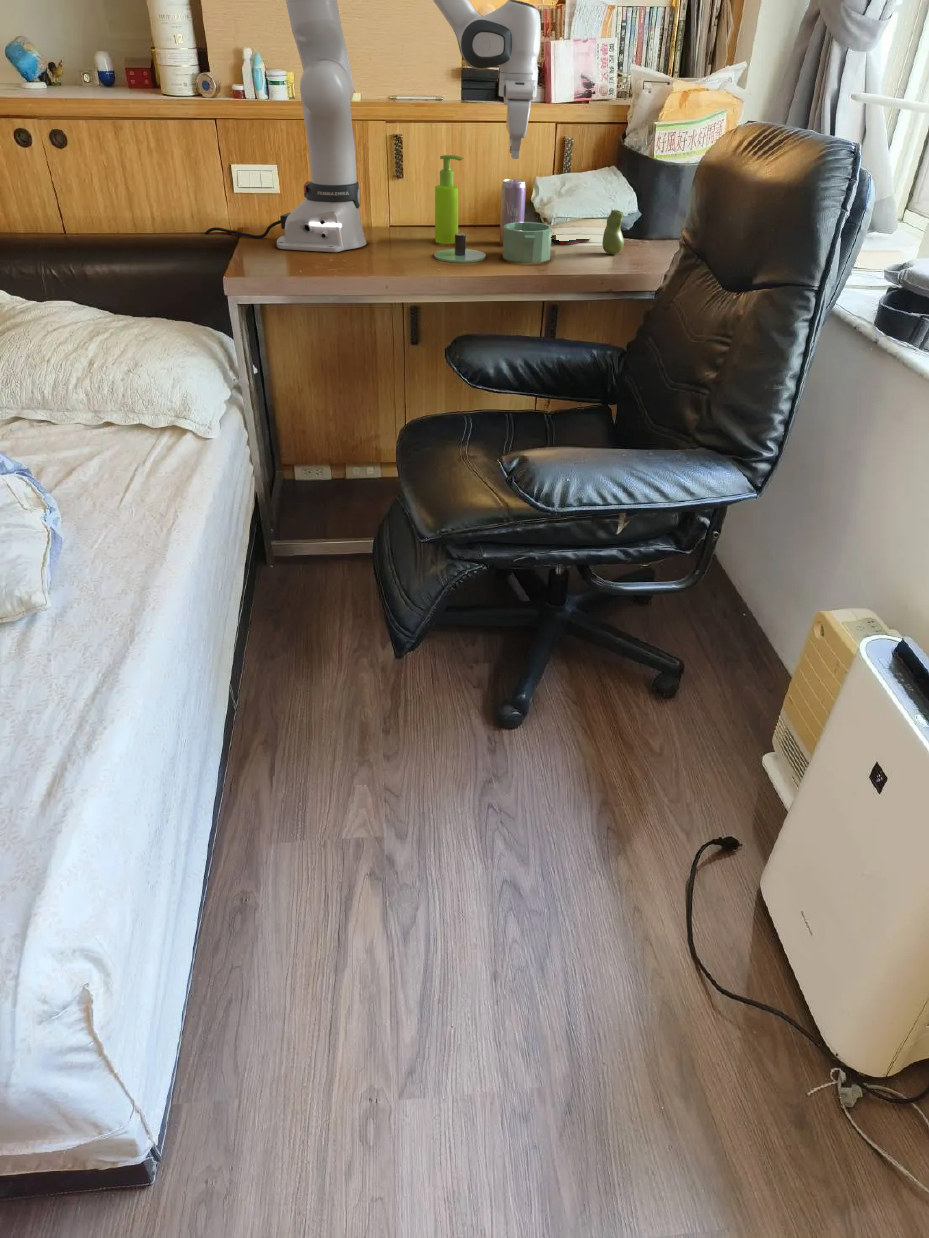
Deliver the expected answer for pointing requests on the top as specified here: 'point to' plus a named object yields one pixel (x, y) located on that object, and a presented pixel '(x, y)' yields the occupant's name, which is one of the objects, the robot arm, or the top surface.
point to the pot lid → (460, 252)
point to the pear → (613, 233)
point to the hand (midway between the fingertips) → (514, 156)
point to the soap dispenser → (446, 204)
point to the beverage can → (512, 203)
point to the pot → (526, 242)
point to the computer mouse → (569, 241)
